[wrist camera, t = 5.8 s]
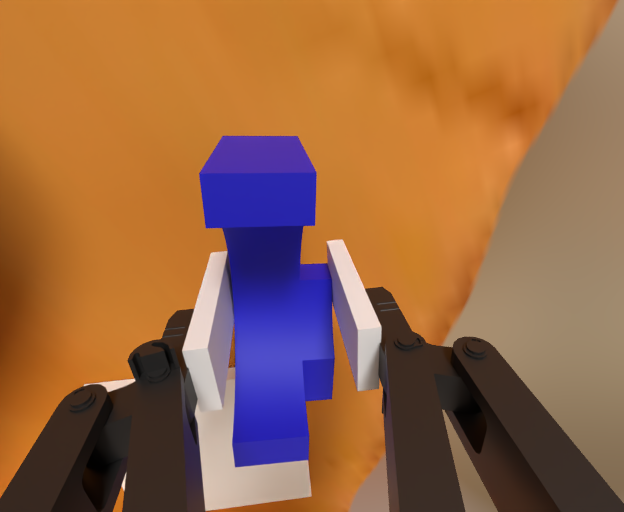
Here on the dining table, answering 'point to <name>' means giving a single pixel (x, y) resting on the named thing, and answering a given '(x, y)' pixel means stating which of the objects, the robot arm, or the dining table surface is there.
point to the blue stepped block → (271, 292)
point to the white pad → (220, 461)
